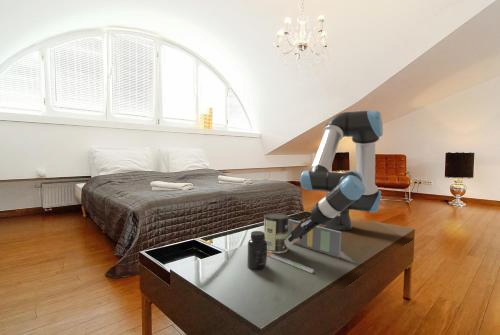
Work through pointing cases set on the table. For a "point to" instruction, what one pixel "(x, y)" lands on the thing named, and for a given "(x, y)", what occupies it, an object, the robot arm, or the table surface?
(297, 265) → the front rail
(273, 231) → the coffee can
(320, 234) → the panel board
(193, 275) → the table surface
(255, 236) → the supplement bottle
